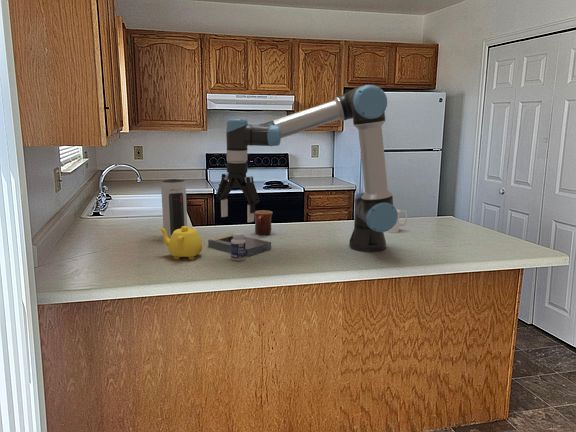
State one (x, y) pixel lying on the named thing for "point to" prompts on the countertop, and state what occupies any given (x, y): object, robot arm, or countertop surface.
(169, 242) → the teapot
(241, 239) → the pill bottle
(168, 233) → the speaker
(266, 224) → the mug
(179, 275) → the countertop surface
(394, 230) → the cup
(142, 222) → the countertop surface
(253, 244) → the grey flat block
